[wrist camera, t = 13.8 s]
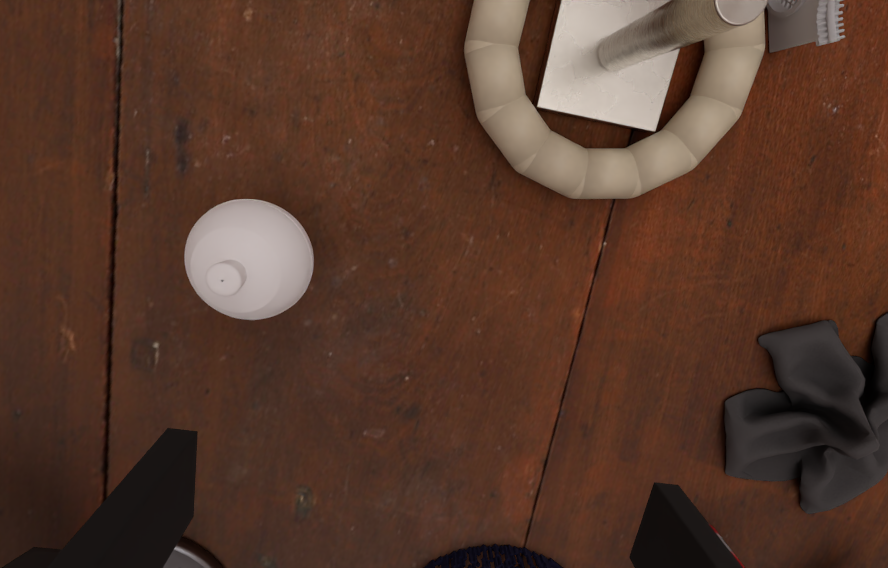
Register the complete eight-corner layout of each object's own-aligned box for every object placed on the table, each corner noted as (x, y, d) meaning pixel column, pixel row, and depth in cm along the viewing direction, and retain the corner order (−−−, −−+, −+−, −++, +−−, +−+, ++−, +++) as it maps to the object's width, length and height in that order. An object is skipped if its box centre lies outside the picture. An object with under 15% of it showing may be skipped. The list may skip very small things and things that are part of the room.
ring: (436, 166, 37) (438, 168, 33) (506, -155, 31) (517, -192, 28) (683, 223, 39) (708, 231, 36) (788, -68, 34) (830, -92, 30)
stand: (531, 108, 36) (610, 84, 21) (562, -28, 34) (676, -162, 19) (646, 132, 37) (799, 126, 22) (684, 1, 34) (885, -105, 20)
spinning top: (323, 183, 37) (279, 202, 25) (339, 280, 39) (305, 338, 27) (221, 193, 37) (130, 217, 25) (243, 290, 39) (168, 353, 27)
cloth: (845, 521, 48) (905, 574, 42) (681, 474, 46) (719, 524, 40) (981, 320, 43) (1071, 348, 37) (801, 254, 40) (867, 274, 34)
